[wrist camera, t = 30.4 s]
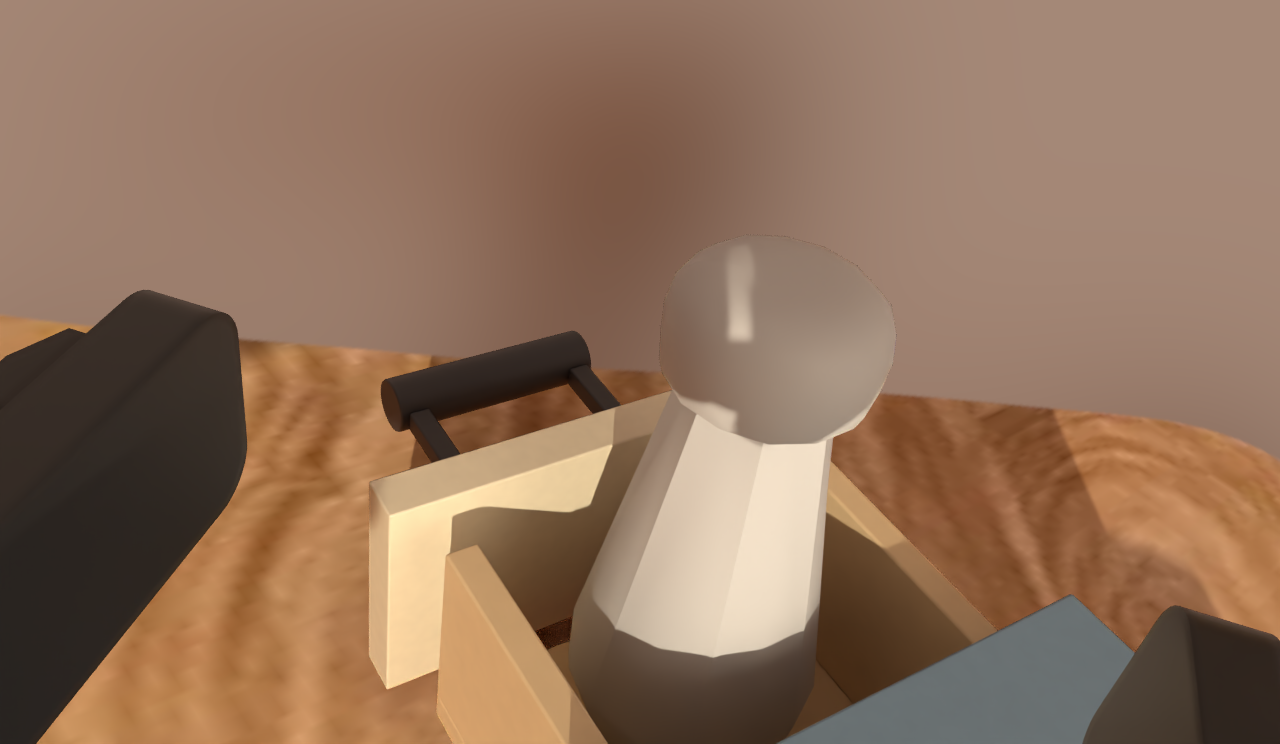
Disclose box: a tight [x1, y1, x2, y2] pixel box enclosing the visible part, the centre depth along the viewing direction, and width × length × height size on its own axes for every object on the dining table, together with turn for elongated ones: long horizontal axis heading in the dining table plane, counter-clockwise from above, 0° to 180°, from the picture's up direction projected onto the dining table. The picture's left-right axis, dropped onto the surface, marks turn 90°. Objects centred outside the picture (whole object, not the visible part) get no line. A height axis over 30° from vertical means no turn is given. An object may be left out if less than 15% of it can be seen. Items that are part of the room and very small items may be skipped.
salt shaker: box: [568, 235, 896, 744], centre depth 25 cm, size 6×6×13 cm
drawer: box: [369, 331, 998, 744], centre depth 29 cm, size 19×11×6 cm, turn 32°
